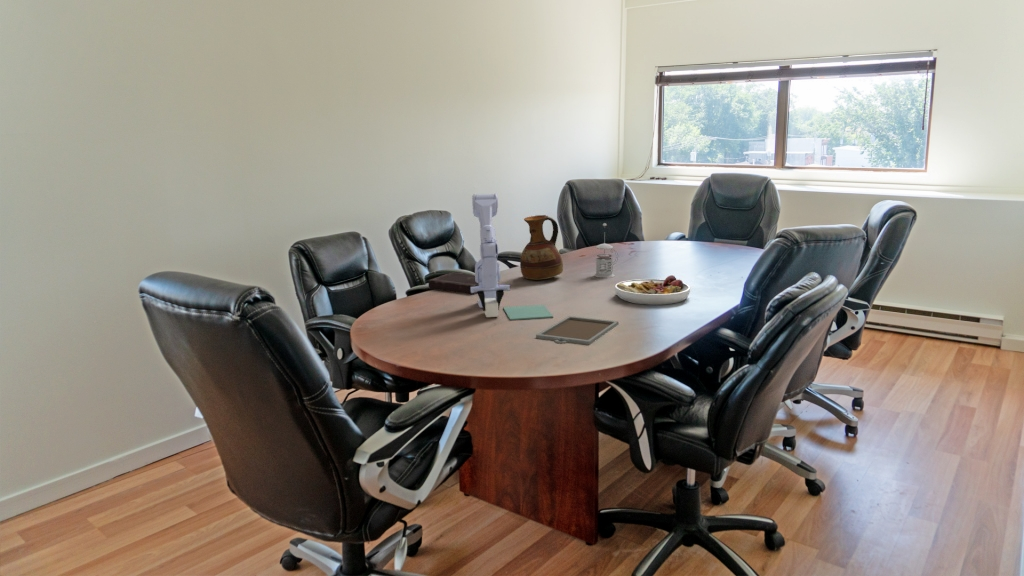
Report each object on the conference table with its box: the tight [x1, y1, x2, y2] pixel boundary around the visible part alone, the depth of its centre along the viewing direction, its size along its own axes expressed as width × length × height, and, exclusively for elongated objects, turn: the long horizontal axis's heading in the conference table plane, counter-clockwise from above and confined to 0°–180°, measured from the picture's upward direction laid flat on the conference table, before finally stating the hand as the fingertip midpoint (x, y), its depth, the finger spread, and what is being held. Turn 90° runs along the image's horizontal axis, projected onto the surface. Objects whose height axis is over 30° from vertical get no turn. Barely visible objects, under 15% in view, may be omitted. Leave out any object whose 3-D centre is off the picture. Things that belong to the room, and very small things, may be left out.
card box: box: [483, 298, 499, 318], centre depth 258 cm, size 9×4×5 cm, turn 9°
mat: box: [503, 304, 554, 321], centre depth 260 cm, size 18×16×1 cm
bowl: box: [614, 275, 691, 306], centre depth 280 cm, size 30×30×8 cm
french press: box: [593, 222, 619, 279], centre depth 325 cm, size 10×12×25 cm
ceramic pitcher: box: [519, 214, 564, 281], centre depth 321 cm, size 20×20×30 cm
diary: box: [428, 272, 479, 295], centre depth 307 cm, size 19×25×5 cm
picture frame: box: [535, 315, 619, 346], centre depth 234 cm, size 19×2×30 cm
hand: (490, 310), depth 258 cm, fingers closed on card box, 4 cm apart
